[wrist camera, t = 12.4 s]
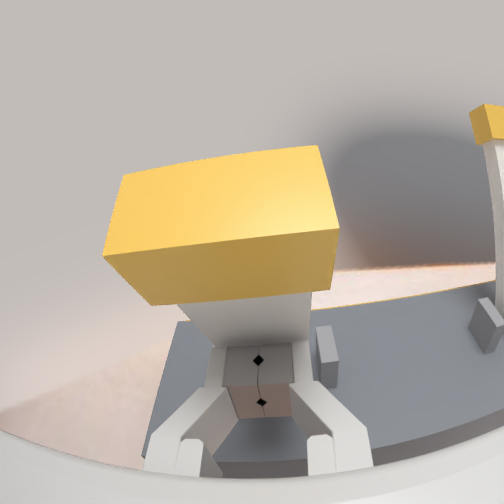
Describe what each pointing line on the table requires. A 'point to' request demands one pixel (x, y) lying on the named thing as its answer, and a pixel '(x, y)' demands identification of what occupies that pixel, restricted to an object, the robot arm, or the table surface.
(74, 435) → the table surface
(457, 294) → the switch box
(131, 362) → the table surface
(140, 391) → the table surface
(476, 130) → the far lever
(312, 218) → the near lever
